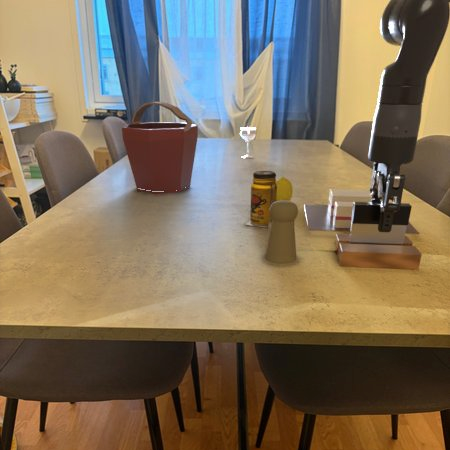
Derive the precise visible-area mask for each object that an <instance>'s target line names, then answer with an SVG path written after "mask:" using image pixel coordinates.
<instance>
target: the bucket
mask: <svg viewBox="0 0 450 450" xmlns="http://www.w3.org/2000/svg"><path fill="white" fill-rule="evenodd" d="M153 105H157V106H159V107H162V108H164V109H167V110H169V111H170V112H171V113H172V114H173V115H174V116H175V117H176V118H177V119H179V120H181V122H179V121H178V122H177V121H175V122H174V121H172V122H171V121H169V122H168V121H165V122H164V121H149V122H141V120H142V117H143V116H144V113H145V112H146V111H147V110H148V109H149V108H150V107H152V106H153ZM182 121H185V122H182ZM198 127H199V126H198V124H195V123H194V124H193V121H192V119H191V118H190V117H189V116H188V115H187V114H186V113H185V112H183V111H182V110H181V109H180V107H178V106H176V105H173V104H170V103H169V102H164V101H150V102H148V101H147V102H144V103H143V104H141V105H140V106H139V107H138V108H137V109H136V110H135V111H134V114H133V116H132V119H131V123H126V124H124V125H122V127H121V132H122V133H121V134H122V139H123V140H122V141H123V144H124V148H125V151H126V155H127V158H128V162H129V165H130V169H131V172H132V176H133V179H134V183H135V186H136V191H137V192H140V193H147V194H153V195H162V194H174V193H176V194H177V193H181V192H184V191H185V190H188V189H189V188H191V183H192V176H193V170H194V164H195V156H196V150H197V144H198V137H199V128H198ZM185 187H186V188H185ZM137 188H141V189H145V190H140V189H137ZM146 190H151V191H146ZM176 190H177V191H176ZM152 191H164V192H152Z"/></svg>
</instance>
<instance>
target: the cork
mask: <svg viewBox="0 0 450 450" xmlns="http://www.w3.org/2000/svg"><path fill="white" fill-rule="evenodd" d="M298 214H299V209H298V206H297V204H296V202H294V201H291V200H290V201H285V200H282V201H276V202H274V203H272V205H271V207H270V216H271V218H272V222H270V223H271V224H270V229H269V234H268V240H267V245H266V252H265V257H264V259H265V260H266V261H268V262H271V263H274V264H283V265H284V264H291V263H294V262H295V261H296V260H297V247H296V229H295V220H296V218H297V217H298Z"/></svg>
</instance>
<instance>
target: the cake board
mask: <svg viewBox="0 0 450 450" xmlns="http://www.w3.org/2000/svg"><path fill="white" fill-rule="evenodd" d="M303 207H304V212H305V218H306V226H307V229H308V231H321V232H323V231H324V232H349V233H350V230H351V228H335V227H334V225H333V216H330V213H329V210H328V204H303ZM406 234H408V235H409V234H410V235H420V232H419V231H418V230H417V229H416V227H414V226H413V224H411V222H410V221H409V223H408V225H407V227H406V232H405V235H406Z"/></svg>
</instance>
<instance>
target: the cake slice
mask: <svg viewBox="0 0 450 450" xmlns="http://www.w3.org/2000/svg"><path fill="white" fill-rule="evenodd" d="M353 203H354V202H335V208H334V214H333V215H334V216H333V225H334V227H335V228H351V223H352V221H351V218H352V210H353Z"/></svg>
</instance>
